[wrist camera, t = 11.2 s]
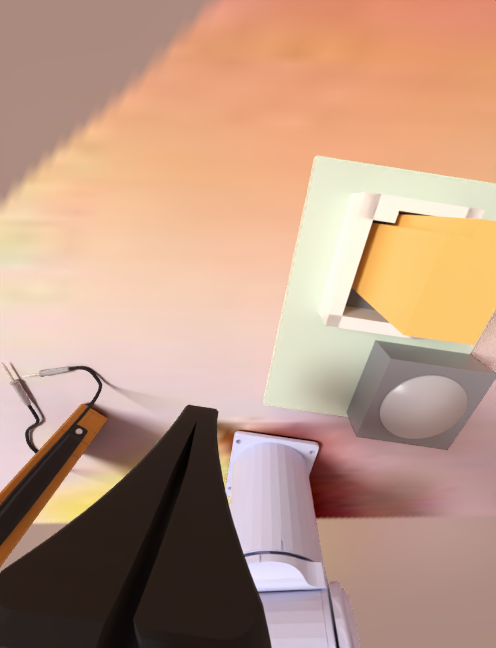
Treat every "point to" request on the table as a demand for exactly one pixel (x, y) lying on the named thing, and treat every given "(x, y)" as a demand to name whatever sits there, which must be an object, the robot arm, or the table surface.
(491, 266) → the plug
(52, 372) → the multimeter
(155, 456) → the robot arm
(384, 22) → the table surface
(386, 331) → the frame
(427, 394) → the grey dome button
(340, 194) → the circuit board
